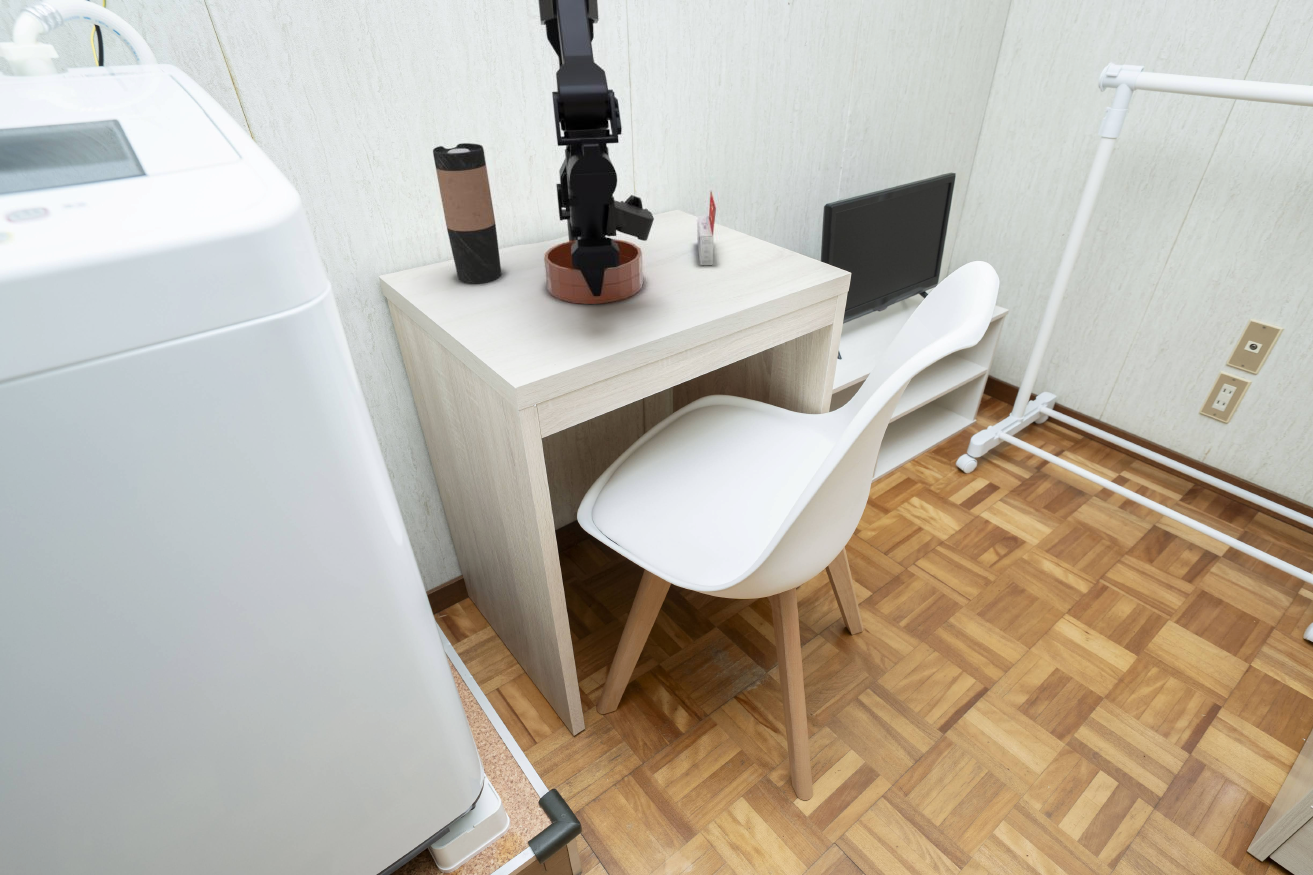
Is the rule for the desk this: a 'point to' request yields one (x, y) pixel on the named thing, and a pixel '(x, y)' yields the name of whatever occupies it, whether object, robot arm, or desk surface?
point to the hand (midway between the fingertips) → (597, 295)
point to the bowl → (573, 285)
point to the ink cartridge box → (706, 235)
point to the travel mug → (468, 211)
